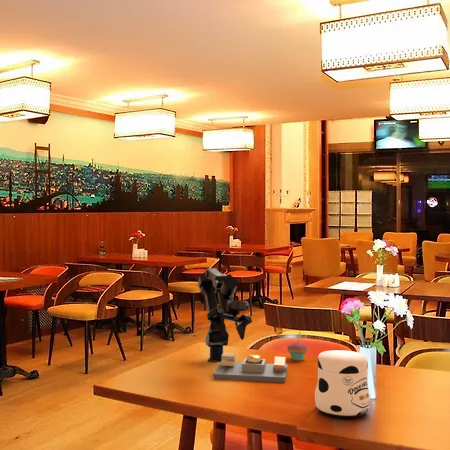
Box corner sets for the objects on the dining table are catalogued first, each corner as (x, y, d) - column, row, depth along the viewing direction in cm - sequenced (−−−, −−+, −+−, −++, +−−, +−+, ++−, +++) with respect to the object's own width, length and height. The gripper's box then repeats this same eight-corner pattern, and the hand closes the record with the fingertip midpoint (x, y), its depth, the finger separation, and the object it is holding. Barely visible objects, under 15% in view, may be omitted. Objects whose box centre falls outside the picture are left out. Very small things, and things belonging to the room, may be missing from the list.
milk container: (372, 423, 177) (372, 364, 176) (314, 420, 180) (314, 361, 179) (367, 404, 194) (368, 350, 193) (314, 401, 197) (315, 348, 196)
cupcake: (293, 355, 257) (293, 328, 256) (310, 358, 252) (311, 330, 251) (283, 359, 250) (283, 331, 249) (301, 363, 245) (301, 334, 244)
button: (248, 362, 231) (248, 354, 231) (261, 362, 230) (261, 355, 230) (246, 365, 226) (246, 357, 226) (259, 366, 225) (259, 358, 225)
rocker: (275, 359, 230) (275, 356, 230) (285, 360, 230) (285, 356, 230) (274, 368, 224) (274, 364, 223) (284, 368, 223) (284, 365, 223)
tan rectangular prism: (223, 363, 235) (223, 353, 235) (235, 363, 234) (235, 353, 234) (221, 365, 231) (221, 355, 231) (234, 366, 230) (234, 356, 230)
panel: (220, 366, 239) (220, 354, 239) (287, 369, 235) (287, 356, 235) (213, 379, 222) (213, 366, 221) (285, 382, 218) (285, 369, 217)
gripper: (221, 286, 224) (228, 323, 214) (257, 297, 235) (265, 332, 225) (203, 301, 230) (209, 336, 220) (239, 310, 241) (246, 344, 231)
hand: (233, 337), depth 224 cm, fingers open, 9 cm apart
